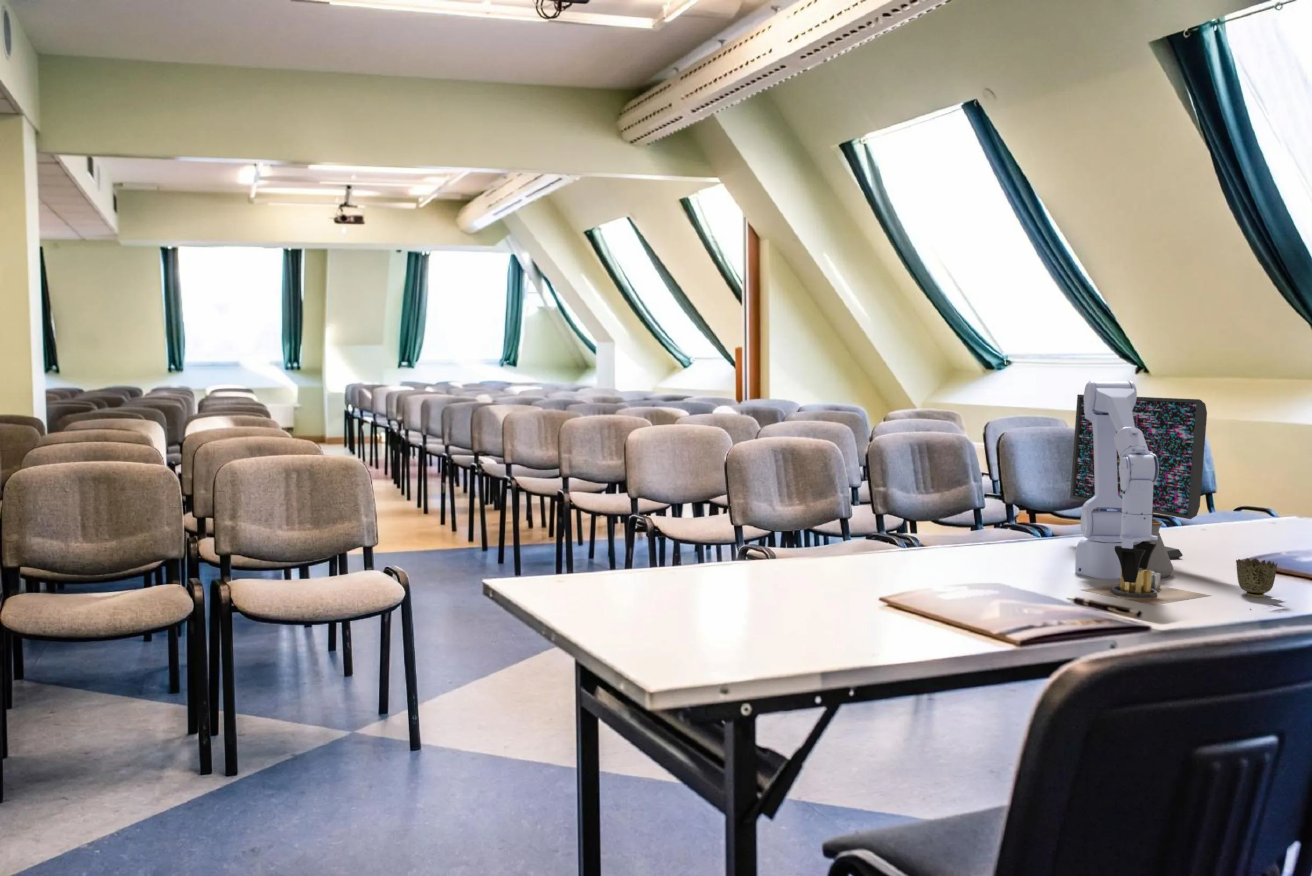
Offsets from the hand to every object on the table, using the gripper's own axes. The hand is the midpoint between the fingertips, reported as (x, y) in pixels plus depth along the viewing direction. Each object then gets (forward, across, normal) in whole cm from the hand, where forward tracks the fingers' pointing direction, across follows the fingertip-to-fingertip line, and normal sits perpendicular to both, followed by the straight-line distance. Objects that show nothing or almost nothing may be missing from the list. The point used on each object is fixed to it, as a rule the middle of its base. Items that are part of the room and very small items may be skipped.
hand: (1134, 579), depth 231 cm
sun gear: (+3, +9, +1) cm, 9 cm away
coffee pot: (+4, +27, +8) cm, 29 cm away
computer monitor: (+4, +59, +14) cm, 61 cm away
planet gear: (+3, 0, 0) cm, 3 cm away
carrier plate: (+4, +3, -2) cm, 5 cm away
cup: (+4, +14, -20) cm, 25 cm away
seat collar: (+3, 0, 0) cm, 3 cm away
